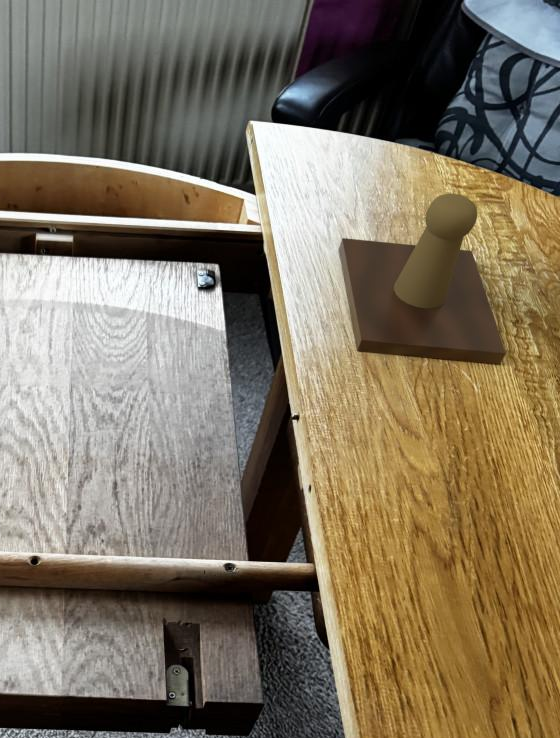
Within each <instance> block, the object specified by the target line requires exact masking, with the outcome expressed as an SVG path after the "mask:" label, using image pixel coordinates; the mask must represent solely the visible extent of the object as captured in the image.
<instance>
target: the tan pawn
mask: <svg viewBox="0 0 560 738" xmlns="http://www.w3.org/2000/svg"><path fill="white" fill-rule="evenodd" d="M477 219H478V208H477V205H476V204H475V202H473V201H472V200H471V199H470V198H469V197H466V196H464V195H462V194H458V193H445V194H444V193H443V194H440V195H438V196H437V197H435V198H434V199H433V200H432V201H431V203H430V204H429V206H428V207H427V210H426V213H425V225H426V226H425V228H424V230H423V232H422V234H421V235H420V237H419V239H418V241H417V242H416V244H415V245H416V246H415V248H414V250H413V252H412V254H411V255H410V257H409V259H408V261H407V263H406V265H405V266H404V268H403V270H402V272H401V274H400V275H399V277H398V279H397V281H396V283H395V285H394V291H395V293H396V295H397V296H398V297H399V298H400V299H401V300H402V301H404V302H406V303H407V304H410V305H412V306H415V307H420V308H435V307H439V306H440V305H442V304H443V303H444V302H445V300H446V297H447V293H448V290H449V286H450V283H451V279H452V276H453V272H454V269H455V265H456V262H457V258H458V255H459V251H460V250H461V248H462V244H463V240H464V238H465V237H466V236H467V235H469V234H470V232H471V231H472V230H473V228H474V227H475V225H476V222H477Z"/></svg>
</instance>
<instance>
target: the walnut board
mask: <svg viewBox="0 0 560 738" xmlns="http://www.w3.org/2000/svg"><path fill="white" fill-rule="evenodd" d="M416 245H417V244H406V243H398V242H397V243H396V242H387V241H375V240H367V239H356V238H347V237H346V238H345V237H342V238H341V241H340V243H339V248H338V252H339V258H340V263H341V269H342V275H343V279H344V284H345V285H344V286H345V290H346V295H347V300H348V301H347V302H348V307H349V313H350V317H351V324H352V329H353V335H354V340H355V345H356V351H358V352H367V353H376V354H388V355H396V356H397V354H398V356H407V357H416V358H417V357H418V358H429V359H438V360H439V359H440V360H450V361H458V362H459V361H460V362H469V363H471V362H472V363H481V364H489V365H490V364H491V365H501V364H502V362H503V360H504V358H505V356H506V354H507V353H506V350H505V347H504V344H503V340H502V338H501V334H500V331H499V329H498V326H497V323H496V320H495V316H494V313H493V311H492V307H491V304H490V302H489V299H488V295H487V292H486V290H485V286H484V284H483V281H482V280H483V279H482V277H481V274H480V271H479V268H478V265H477V261H476V259H475V256H474V253H473V250H468V249H460V251H459V255H458V258H457V262H456V265H455V269H454V272H453V276H452V279H451V283H450V286H449V290H448V293H447V297H446V300H445V302H444V303H443V304H442V305H440V306H439V307H435V308H420V307H415V306H412V305H410V304H407V303H406V302H404V301H402V300H401V299H400V298H399V297H398V296H397V295H396V293H395V291H394V285H395V283H396V281H397V279H398V277H399V275H400V274H401V272H402V270H403V268H404V266H405V265H406V263H407V261H408V259H409V257H410V255H411V254H412V252H413V250H414V248H415V246H416Z"/></svg>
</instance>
